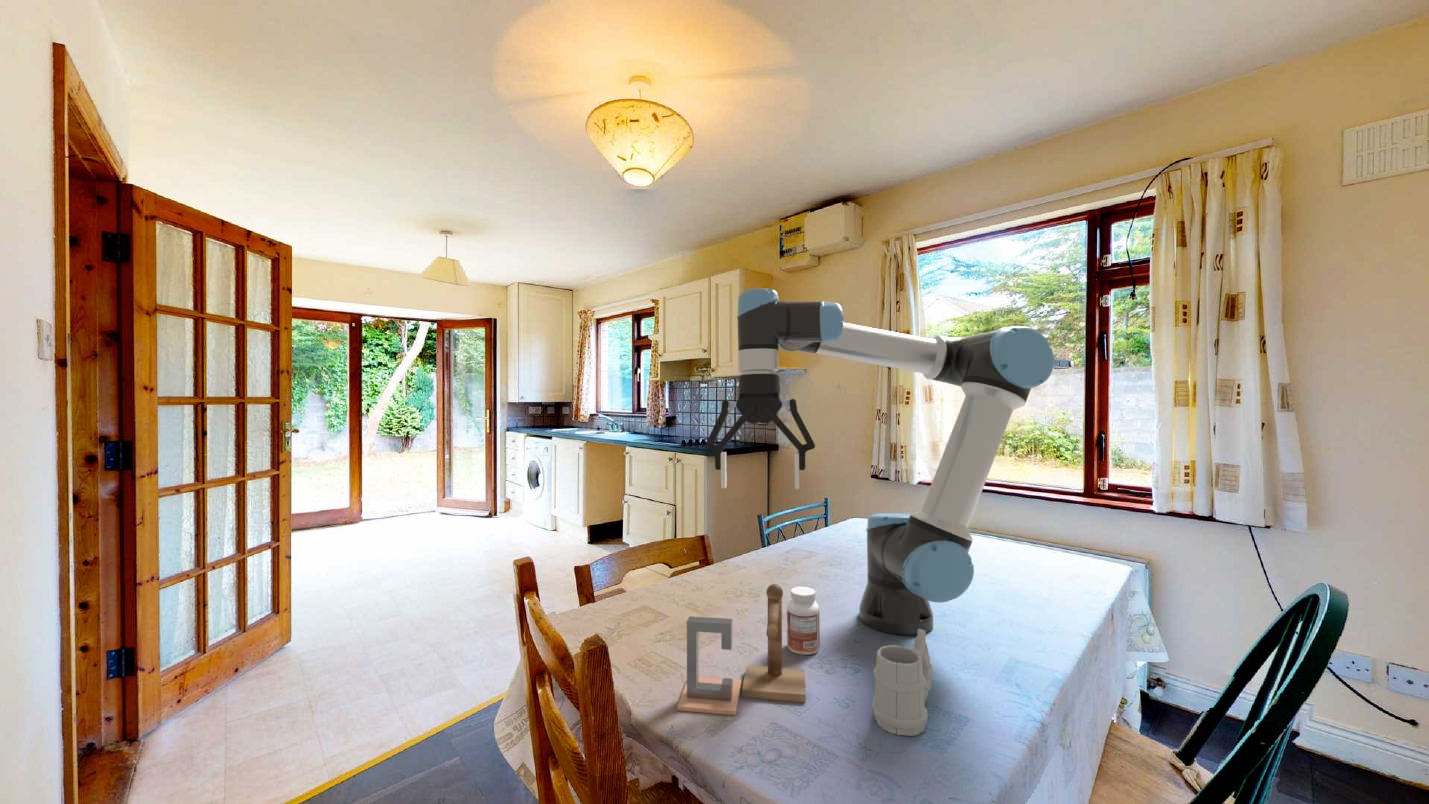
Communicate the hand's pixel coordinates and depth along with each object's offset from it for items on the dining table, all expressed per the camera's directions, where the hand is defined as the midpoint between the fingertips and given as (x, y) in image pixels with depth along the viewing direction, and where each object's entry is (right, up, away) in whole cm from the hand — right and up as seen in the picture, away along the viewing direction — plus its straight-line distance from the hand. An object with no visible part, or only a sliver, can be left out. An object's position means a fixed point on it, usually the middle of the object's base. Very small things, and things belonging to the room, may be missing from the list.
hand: (760, 487), depth 97 cm
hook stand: (+1, -31, -14) cm, 34 cm away
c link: (-9, -31, -14) cm, 35 cm away
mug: (+20, -31, -19) cm, 42 cm away
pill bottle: (+9, -32, +3) cm, 33 cm away
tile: (-9, -31, -13) cm, 35 cm away
